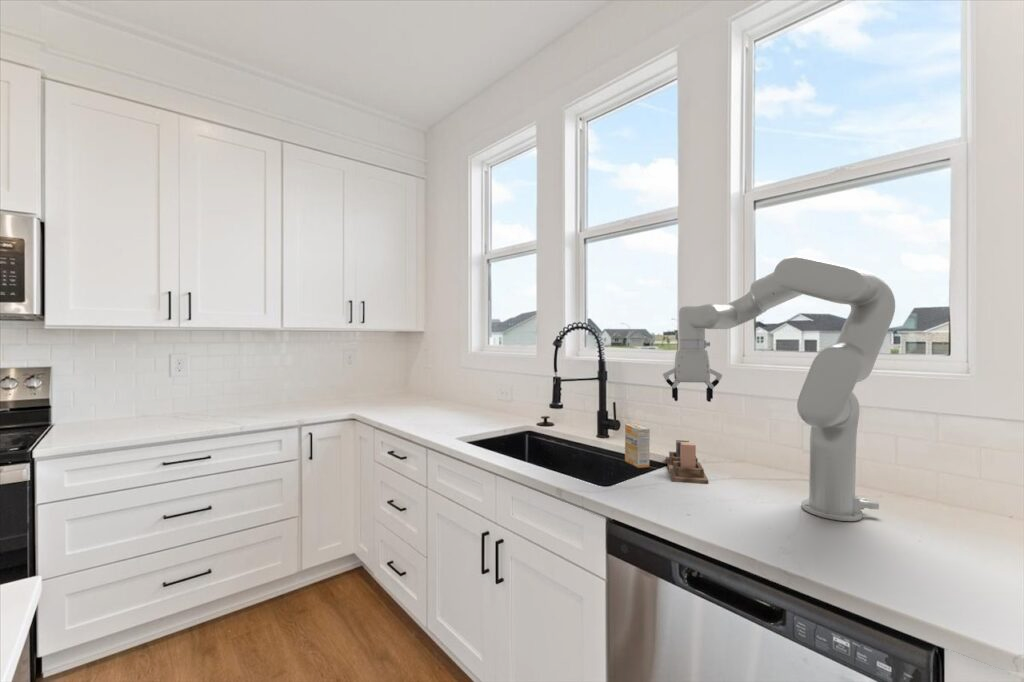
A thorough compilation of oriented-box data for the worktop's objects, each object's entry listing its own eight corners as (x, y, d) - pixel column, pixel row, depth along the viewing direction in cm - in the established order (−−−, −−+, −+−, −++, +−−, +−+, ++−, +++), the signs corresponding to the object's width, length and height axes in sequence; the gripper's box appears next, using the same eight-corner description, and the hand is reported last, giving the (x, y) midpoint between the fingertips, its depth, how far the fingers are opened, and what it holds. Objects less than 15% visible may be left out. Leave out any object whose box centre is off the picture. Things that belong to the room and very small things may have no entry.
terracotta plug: (693, 471, 147) (694, 442, 147) (695, 474, 143) (695, 445, 143) (680, 470, 148) (680, 441, 148) (681, 473, 144) (681, 444, 144)
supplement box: (624, 461, 162) (624, 423, 161) (636, 460, 163) (636, 423, 163) (637, 468, 154) (637, 428, 154) (650, 467, 155) (650, 427, 155)
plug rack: (696, 461, 162) (696, 438, 161) (708, 483, 138) (708, 456, 138) (665, 459, 164) (665, 437, 164) (672, 481, 141) (672, 454, 140)
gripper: (719, 345, 147) (719, 399, 148) (661, 345, 151) (661, 398, 151) (724, 346, 140) (724, 403, 140) (664, 346, 144) (664, 401, 144)
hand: (692, 400), depth 146 cm, fingers open, 9 cm apart
